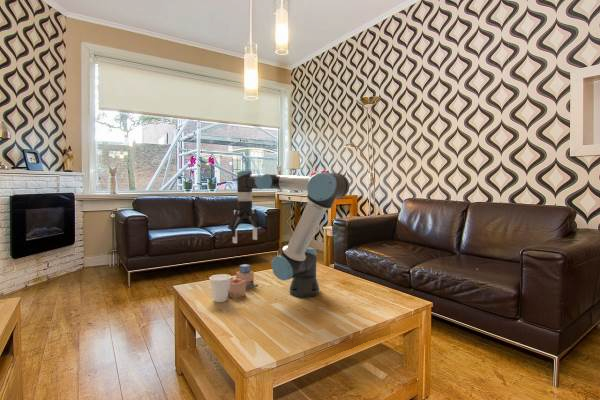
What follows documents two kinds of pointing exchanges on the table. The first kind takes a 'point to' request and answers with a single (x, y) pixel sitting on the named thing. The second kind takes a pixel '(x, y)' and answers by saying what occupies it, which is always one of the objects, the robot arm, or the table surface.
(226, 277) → the cup
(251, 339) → the table surface
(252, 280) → the pot
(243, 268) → the blue rectangular block
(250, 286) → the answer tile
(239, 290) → the pot
